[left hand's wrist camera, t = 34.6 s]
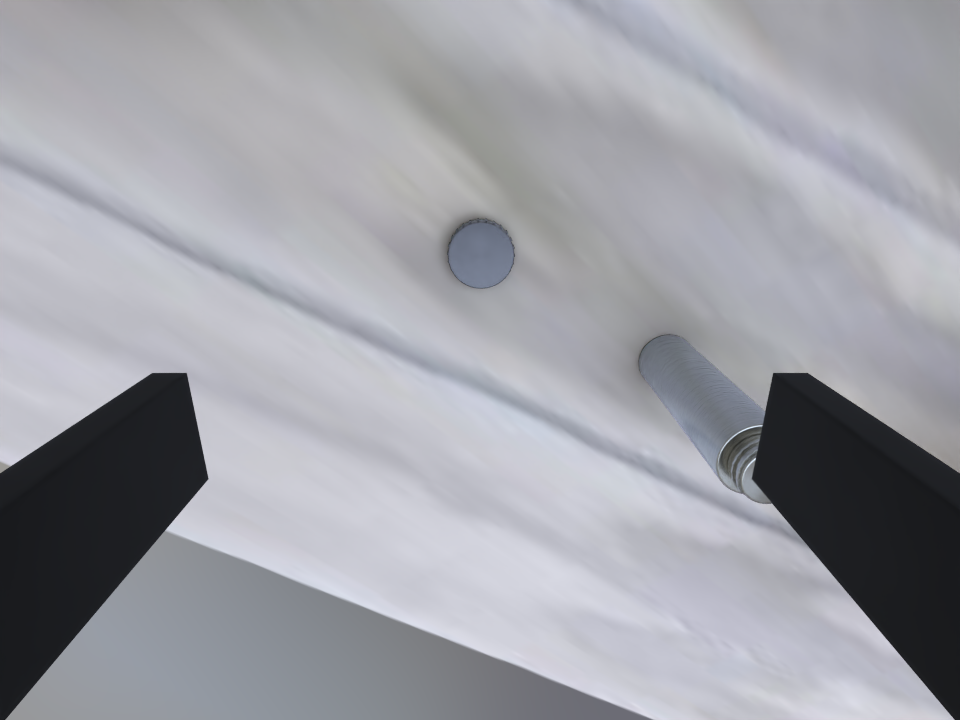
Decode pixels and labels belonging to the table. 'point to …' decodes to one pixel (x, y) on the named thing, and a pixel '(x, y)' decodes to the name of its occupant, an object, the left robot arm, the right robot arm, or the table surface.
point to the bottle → (707, 410)
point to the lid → (481, 253)
